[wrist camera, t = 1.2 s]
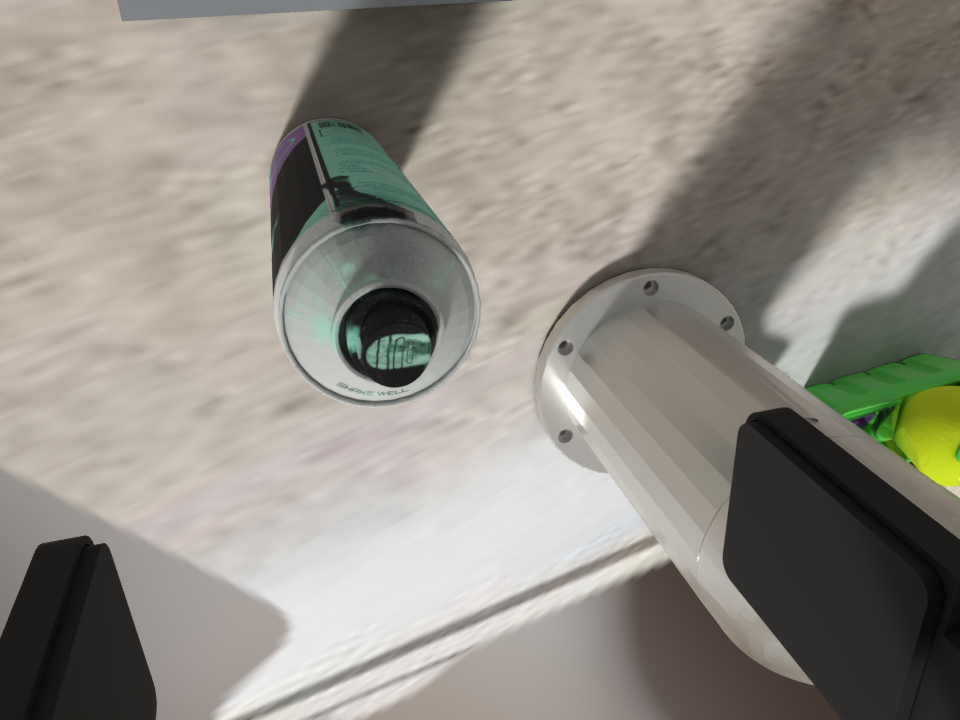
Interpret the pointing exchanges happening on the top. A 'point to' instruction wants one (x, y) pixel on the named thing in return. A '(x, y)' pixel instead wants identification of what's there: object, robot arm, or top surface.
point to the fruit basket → (906, 411)
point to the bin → (253, 7)
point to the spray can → (364, 271)
